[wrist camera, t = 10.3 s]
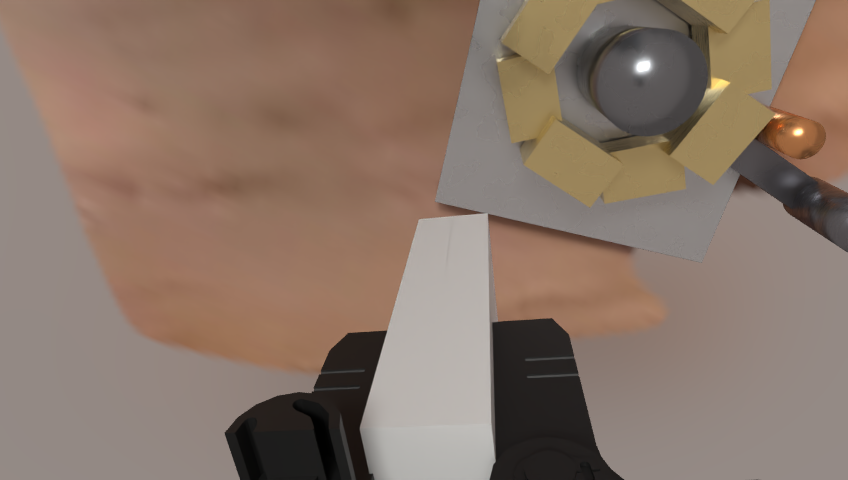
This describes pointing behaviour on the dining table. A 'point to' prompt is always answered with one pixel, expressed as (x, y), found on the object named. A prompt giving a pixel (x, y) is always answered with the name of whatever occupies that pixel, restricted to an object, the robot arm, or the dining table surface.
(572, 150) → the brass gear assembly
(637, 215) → the cap plate
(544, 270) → the dining table surface
